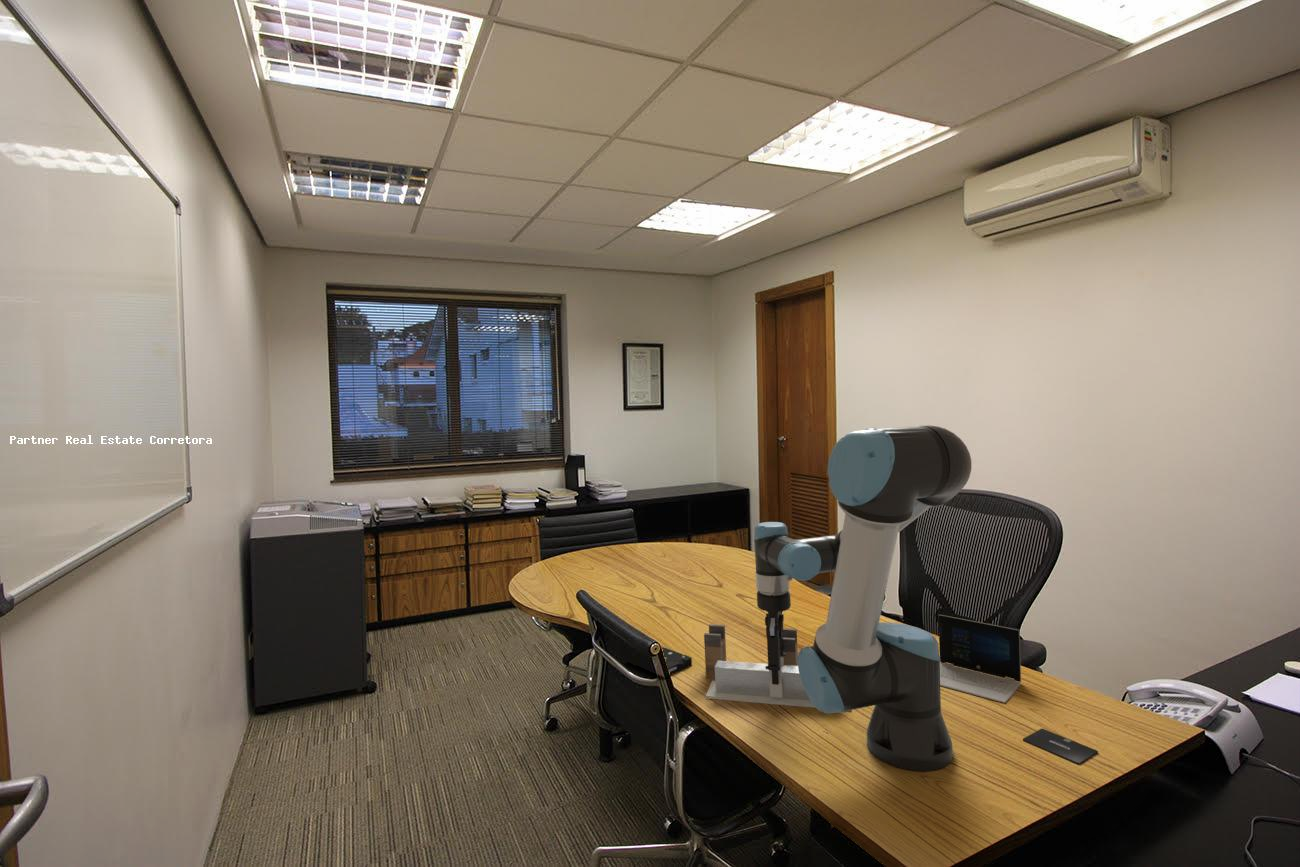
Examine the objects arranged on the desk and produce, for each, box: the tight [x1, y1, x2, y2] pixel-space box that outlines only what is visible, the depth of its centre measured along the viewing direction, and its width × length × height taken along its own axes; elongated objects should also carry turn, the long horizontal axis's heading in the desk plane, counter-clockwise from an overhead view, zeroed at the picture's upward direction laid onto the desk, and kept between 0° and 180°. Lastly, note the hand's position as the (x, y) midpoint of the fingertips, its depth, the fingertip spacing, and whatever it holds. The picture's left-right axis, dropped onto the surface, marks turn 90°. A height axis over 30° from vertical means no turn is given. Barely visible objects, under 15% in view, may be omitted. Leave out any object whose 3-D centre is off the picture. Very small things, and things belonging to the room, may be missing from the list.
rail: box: [714, 660, 811, 701], centre depth 141 cm, size 4×28×6 cm, turn 74°
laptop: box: [937, 614, 1022, 704], centre depth 143 cm, size 18×12×13 cm
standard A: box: [781, 627, 799, 666], centre depth 150 cm, size 7×4×11 cm, turn 164°
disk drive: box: [660, 645, 693, 676], centre depth 162 cm, size 10×3×15 cm
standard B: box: [703, 624, 727, 680], centre depth 155 cm, size 7×4×11 cm, turn 164°
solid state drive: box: [1022, 728, 1099, 766], centre depth 115 cm, size 7×10×1 cm
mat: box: [705, 680, 852, 712], centre depth 141 cm, size 8×32×1 cm, turn 74°
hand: (777, 690), depth 141 cm, fingers open, 5 cm apart
